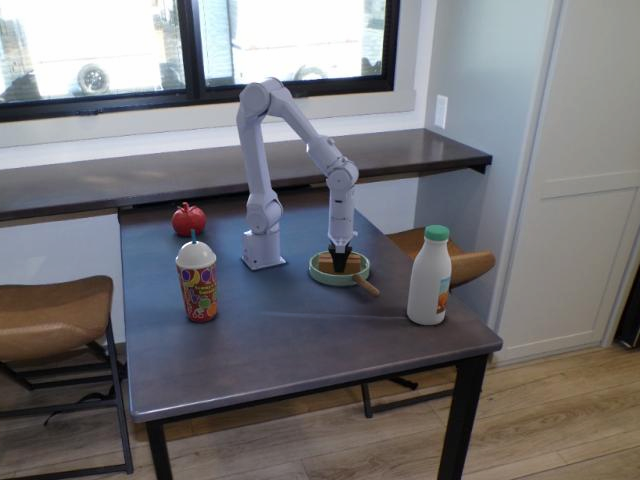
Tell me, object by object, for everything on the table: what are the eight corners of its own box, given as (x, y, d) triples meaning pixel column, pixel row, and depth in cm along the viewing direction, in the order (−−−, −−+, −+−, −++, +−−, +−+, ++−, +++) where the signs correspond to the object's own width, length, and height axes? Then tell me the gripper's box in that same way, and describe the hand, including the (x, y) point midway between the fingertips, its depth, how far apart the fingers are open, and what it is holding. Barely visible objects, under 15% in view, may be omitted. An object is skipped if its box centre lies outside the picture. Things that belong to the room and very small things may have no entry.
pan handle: (350, 280, 122) (350, 273, 121) (357, 278, 123) (357, 271, 122) (374, 299, 114) (374, 292, 113) (381, 297, 114) (381, 290, 114)
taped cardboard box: (318, 275, 127) (318, 261, 125) (319, 266, 131) (319, 253, 129) (359, 276, 126) (360, 262, 124) (359, 267, 130) (360, 254, 128)
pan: (326, 292, 120) (327, 281, 119) (299, 267, 132) (299, 256, 131) (380, 279, 125) (381, 268, 124) (349, 256, 137) (350, 245, 135)
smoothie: (205, 329, 108) (195, 241, 98) (175, 319, 112) (162, 233, 102) (229, 311, 114) (222, 226, 104) (199, 302, 118) (190, 219, 108)
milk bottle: (423, 330, 106) (436, 239, 96) (398, 313, 112) (408, 226, 102) (452, 320, 109) (467, 231, 99) (426, 303, 115) (438, 218, 105)
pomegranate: (213, 233, 153) (210, 203, 148) (182, 241, 148) (178, 211, 144) (197, 223, 160) (194, 194, 155) (167, 231, 155) (163, 201, 151)
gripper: (359, 227, 114) (356, 281, 121) (358, 204, 127) (355, 255, 134) (327, 226, 115) (325, 280, 122) (329, 204, 128) (327, 254, 134)
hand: (339, 267), depth 128 cm, fingers closed on taped cardboard box, 4 cm apart
